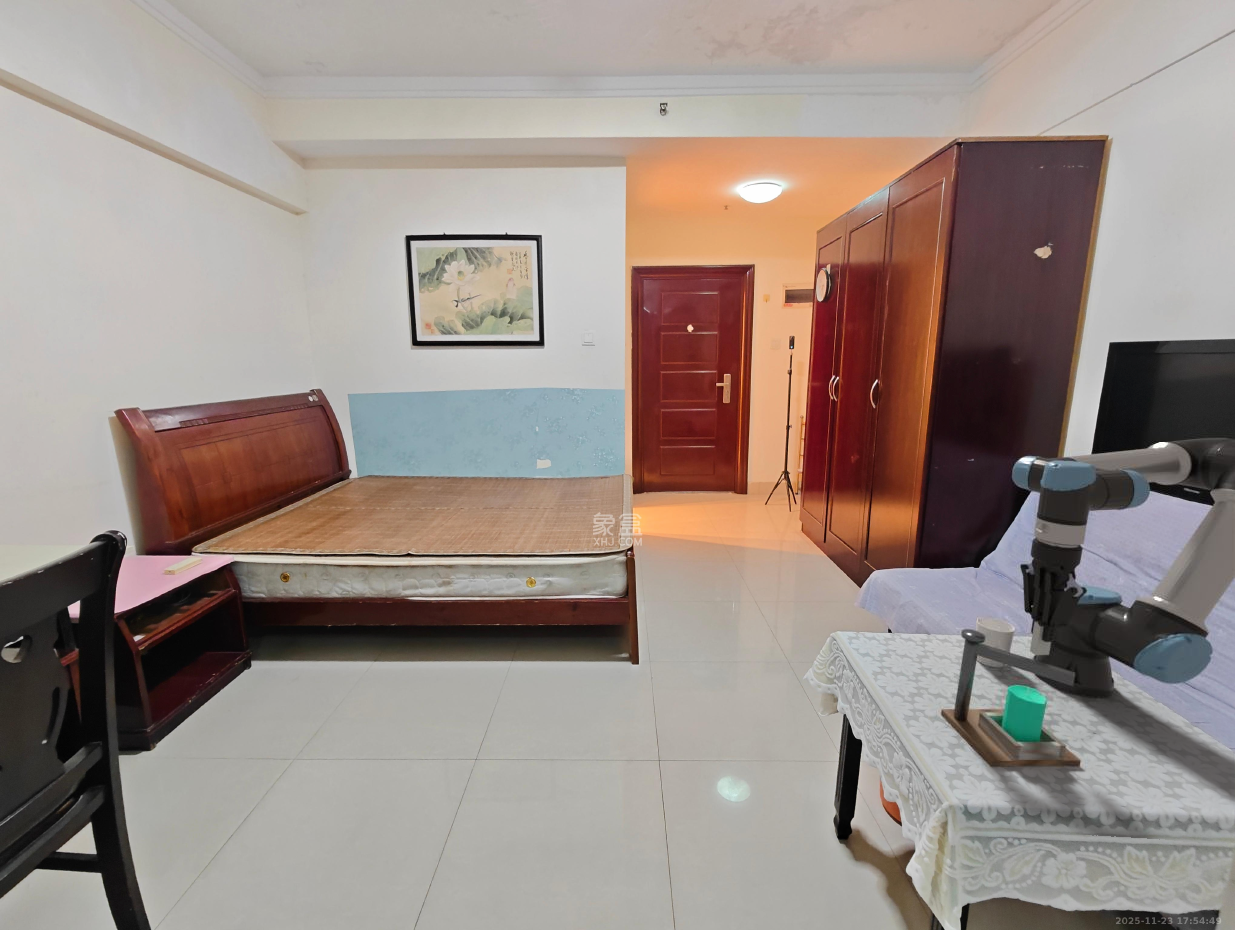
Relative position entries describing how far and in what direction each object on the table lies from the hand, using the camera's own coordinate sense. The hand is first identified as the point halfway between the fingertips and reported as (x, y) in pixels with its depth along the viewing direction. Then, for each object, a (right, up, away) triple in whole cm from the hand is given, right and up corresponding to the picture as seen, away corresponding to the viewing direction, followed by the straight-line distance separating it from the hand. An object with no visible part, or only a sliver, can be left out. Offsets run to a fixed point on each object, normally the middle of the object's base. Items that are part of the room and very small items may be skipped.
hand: (1039, 652), depth 107 cm
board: (-7, -17, 0) cm, 19 cm away
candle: (-6, -17, -3) cm, 18 cm away
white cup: (+10, -12, +28) cm, 32 cm away
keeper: (-8, -16, -1) cm, 18 cm away
